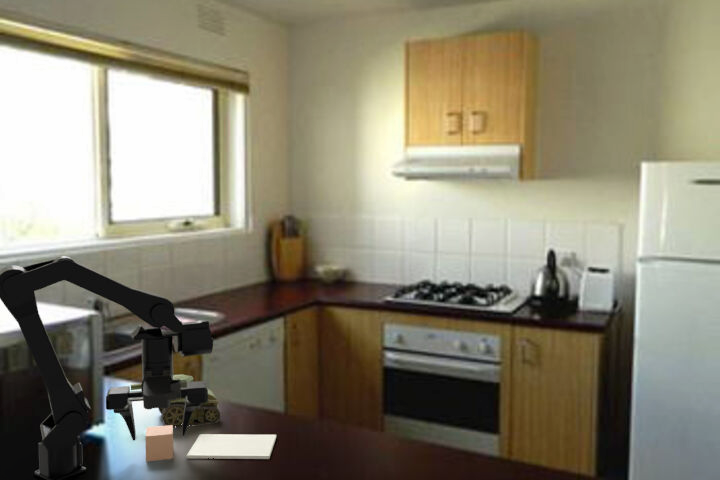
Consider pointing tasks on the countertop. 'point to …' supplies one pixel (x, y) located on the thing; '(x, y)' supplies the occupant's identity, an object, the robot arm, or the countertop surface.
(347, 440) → the countertop surface
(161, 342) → the robot arm
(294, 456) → the countertop surface
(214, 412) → the toy
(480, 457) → the countertop surface
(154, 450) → the block
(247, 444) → the board
